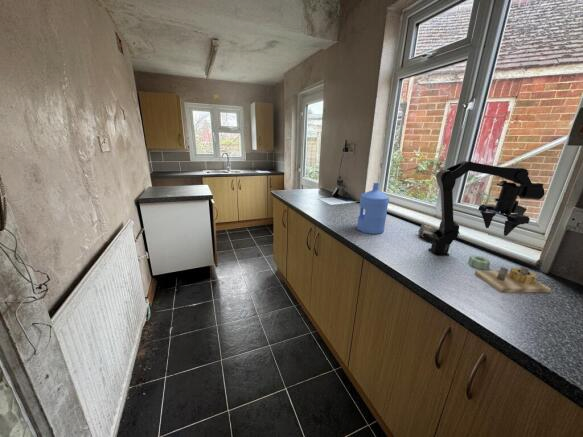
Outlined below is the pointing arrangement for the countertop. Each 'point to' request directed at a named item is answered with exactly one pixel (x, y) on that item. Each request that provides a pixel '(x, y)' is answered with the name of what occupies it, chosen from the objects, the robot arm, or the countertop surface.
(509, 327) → the countertop surface
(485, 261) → the green gear
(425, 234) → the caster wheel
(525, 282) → the brass gear
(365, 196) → the water jug
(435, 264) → the countertop surface
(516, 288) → the gear board
